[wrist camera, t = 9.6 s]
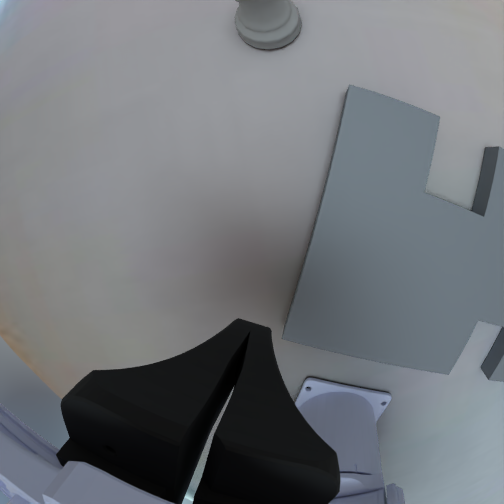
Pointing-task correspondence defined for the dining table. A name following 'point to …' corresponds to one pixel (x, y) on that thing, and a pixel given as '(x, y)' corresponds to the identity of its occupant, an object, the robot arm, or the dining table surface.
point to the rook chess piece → (267, 22)
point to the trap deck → (400, 248)
